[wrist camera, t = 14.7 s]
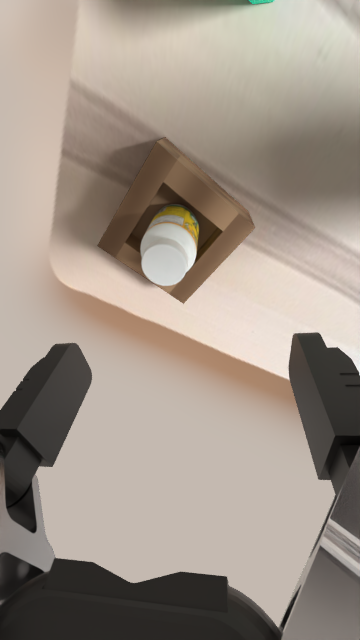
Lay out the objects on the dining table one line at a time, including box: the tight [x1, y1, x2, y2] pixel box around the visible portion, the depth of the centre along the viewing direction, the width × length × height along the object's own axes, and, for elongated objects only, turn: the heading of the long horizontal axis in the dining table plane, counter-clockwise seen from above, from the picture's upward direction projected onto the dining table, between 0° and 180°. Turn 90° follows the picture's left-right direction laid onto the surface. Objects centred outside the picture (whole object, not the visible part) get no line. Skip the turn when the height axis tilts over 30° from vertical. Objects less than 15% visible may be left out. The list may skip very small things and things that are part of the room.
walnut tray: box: [98, 138, 255, 304], centre depth 30 cm, size 12×12×6 cm
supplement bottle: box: [140, 204, 199, 286], centre depth 26 cm, size 5×5×10 cm
